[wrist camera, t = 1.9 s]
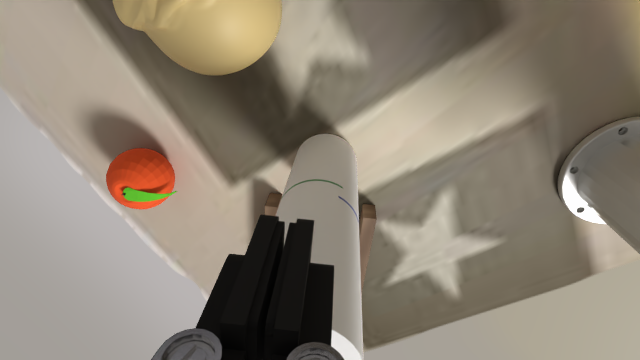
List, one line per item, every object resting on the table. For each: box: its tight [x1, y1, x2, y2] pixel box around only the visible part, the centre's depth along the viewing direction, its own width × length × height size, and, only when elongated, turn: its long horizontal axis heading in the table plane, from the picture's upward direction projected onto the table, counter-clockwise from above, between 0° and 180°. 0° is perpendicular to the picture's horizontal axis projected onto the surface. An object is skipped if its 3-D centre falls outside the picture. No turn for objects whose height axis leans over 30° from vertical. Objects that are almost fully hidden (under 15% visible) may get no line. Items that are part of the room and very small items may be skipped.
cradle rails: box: [265, 193, 376, 294], centre depth 47 cm, size 13×22×3 cm, turn 175°
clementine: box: [106, 148, 177, 209], centre depth 39 cm, size 8×7×7 cm
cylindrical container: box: [276, 134, 363, 360], centre depth 29 cm, size 7×7×25 cm
